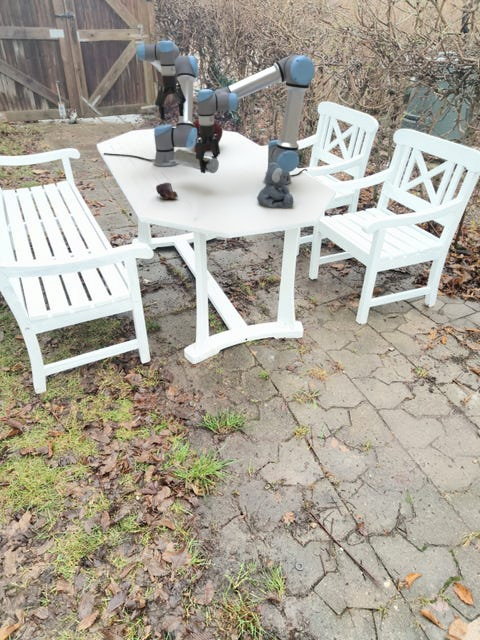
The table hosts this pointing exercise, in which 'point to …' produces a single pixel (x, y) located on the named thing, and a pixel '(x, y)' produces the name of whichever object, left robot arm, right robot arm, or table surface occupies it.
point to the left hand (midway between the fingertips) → (172, 117)
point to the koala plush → (275, 189)
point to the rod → (195, 161)
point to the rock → (166, 191)
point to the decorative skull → (217, 131)
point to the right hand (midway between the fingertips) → (208, 170)
